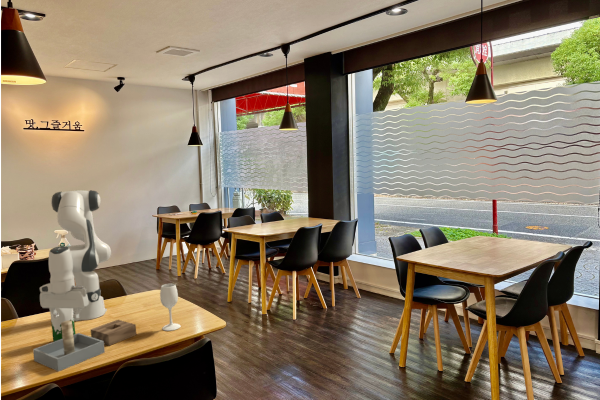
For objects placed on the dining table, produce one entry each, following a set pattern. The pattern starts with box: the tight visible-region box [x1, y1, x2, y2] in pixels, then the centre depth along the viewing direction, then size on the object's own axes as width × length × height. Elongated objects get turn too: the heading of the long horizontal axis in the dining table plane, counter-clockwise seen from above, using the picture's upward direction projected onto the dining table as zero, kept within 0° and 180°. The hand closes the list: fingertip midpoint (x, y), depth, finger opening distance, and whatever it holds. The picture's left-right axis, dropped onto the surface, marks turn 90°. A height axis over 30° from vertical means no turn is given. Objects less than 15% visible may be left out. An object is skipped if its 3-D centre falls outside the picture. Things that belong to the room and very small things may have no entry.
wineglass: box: [159, 283, 182, 332], centre depth 214 cm, size 9×9×21 cm
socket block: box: [90, 319, 137, 346], centre depth 206 cm, size 14×14×5 cm
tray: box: [32, 332, 105, 372], centre depth 187 cm, size 20×20×5 cm
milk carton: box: [48, 308, 77, 342], centre depth 203 cm, size 9×9×20 cm
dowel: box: [61, 320, 75, 356], centre depth 186 cm, size 4×4×14 cm
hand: (66, 317), depth 186 cm, fingers open, 8 cm apart
